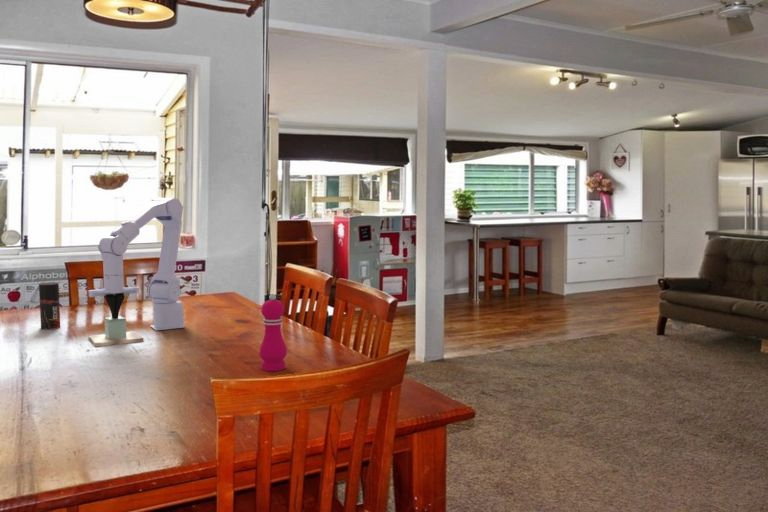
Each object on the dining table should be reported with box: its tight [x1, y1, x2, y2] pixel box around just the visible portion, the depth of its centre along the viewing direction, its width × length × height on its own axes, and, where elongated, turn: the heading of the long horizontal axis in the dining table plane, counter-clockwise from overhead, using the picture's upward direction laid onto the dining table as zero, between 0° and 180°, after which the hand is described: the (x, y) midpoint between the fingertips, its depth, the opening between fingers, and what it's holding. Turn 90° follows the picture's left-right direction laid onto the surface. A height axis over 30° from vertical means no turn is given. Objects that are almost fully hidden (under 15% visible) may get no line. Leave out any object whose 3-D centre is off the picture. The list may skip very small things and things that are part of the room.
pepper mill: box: [258, 293, 288, 372], centre depth 180 cm, size 7×7×20 cm
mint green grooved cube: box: [103, 315, 127, 339], centre depth 213 cm, size 5×5×6 cm
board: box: [87, 330, 144, 347], centre depth 213 cm, size 14×12×6 cm
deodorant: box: [38, 282, 61, 330], centre depth 230 cm, size 6×6×15 cm
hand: (115, 318), depth 212 cm, fingers closed
